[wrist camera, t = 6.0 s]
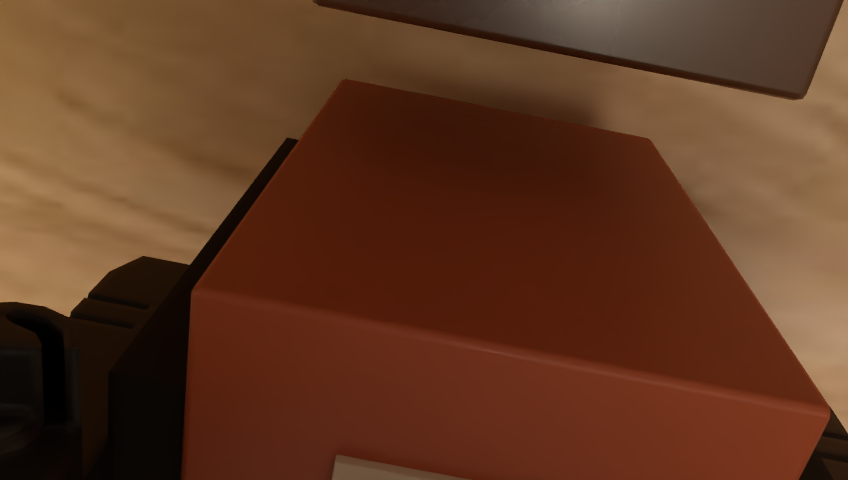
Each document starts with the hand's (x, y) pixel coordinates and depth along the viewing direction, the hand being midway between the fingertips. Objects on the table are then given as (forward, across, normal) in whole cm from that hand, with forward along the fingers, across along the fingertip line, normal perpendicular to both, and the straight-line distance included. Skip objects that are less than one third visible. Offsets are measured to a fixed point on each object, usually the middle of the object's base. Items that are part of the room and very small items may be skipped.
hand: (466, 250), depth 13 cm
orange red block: (0, 0, 0) cm, 0 cm away
